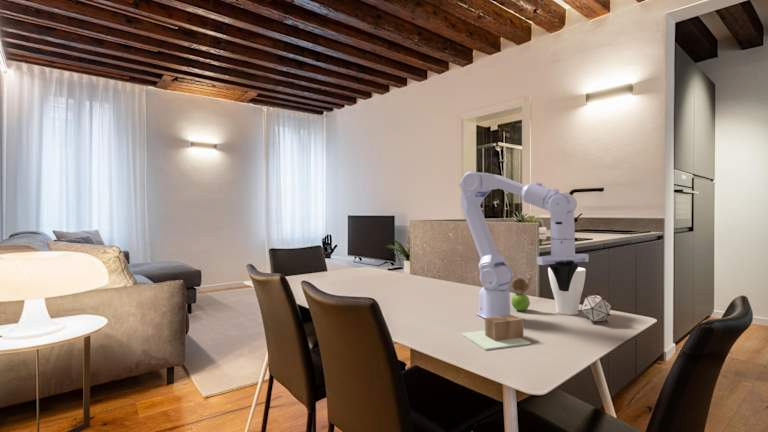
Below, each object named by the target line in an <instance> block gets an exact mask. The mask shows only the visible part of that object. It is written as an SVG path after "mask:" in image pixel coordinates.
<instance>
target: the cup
mask: <svg viewBox="0 0 768 432" xmlns="http://www.w3.org/2000/svg"><path fill="white" fill-rule="evenodd" d="M586 270H587V269H586V268H584V267H579V266H578V268H577V270H576V271H575V273H574V275H573V277H572V280H571V283H570V287H569V291H565V292H564V291H560V290H559V288H558V284H557V281H556V278H555V276H554V274H553V272H552V270H551V268H550V267H548V268H547V273H548V278H549V283H550V288H551V290H552V294H553V297H554V298H553V299H554V303H555V309H556V312H557V313H558V314H561V315H566V316H567V315H568V316H576V315H578V314H579V312H578V310H580V303H581V297H582V293H583V290H584V285H585V281H586V272H587V271H586Z"/></svg>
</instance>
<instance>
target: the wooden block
mask: <svg viewBox="0 0 768 432" xmlns="http://www.w3.org/2000/svg"><path fill="white" fill-rule="evenodd" d="M484 330H485V336H487V337H489V338H491V339H492V340H494V341H500V340H507V339H515V338H522V339H524V337H525V336H524V335H525V334H524V333H525V332H524V318H522V317H519V316H517V315H514V314H510V315H505V316H496V317H487V318H484Z"/></svg>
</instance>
